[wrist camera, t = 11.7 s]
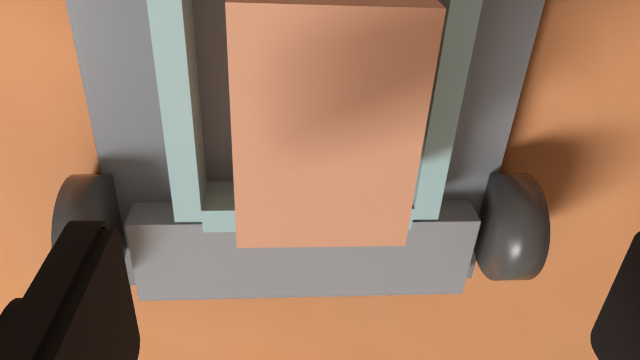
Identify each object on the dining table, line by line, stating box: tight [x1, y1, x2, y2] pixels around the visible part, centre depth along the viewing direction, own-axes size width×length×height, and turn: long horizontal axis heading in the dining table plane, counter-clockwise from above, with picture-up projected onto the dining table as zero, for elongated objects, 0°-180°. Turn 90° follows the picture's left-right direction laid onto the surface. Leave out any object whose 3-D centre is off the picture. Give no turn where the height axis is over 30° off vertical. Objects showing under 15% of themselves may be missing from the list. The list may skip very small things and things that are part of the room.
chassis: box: [51, 0, 550, 301], centre depth 18 cm, size 18×21×4 cm
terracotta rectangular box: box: [225, 0, 446, 248], centre depth 16 cm, size 5×7×6 cm
